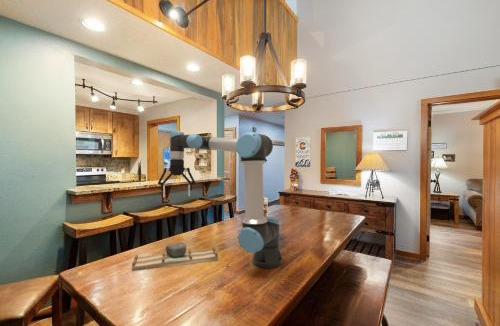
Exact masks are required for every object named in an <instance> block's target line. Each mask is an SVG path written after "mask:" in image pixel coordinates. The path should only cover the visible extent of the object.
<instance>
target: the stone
mask: <svg viewBox="0 0 500 326" xmlns="http://www.w3.org/2000/svg"><path fill="white" fill-rule="evenodd" d="M186 252H187V244H186V243H184V242H176V243H175V242H174V243H169V244H167V245H166V246H165V254H168V255H170V256H172V257H181V256H184V255H185V253H186Z"/></svg>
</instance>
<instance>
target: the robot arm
mask: <svg viewBox="0 0 500 326" xmlns="http://www.w3.org/2000/svg"><path fill="white" fill-rule="evenodd" d="M169 142H170V143H169V144H170V145H169V147H170V149H169V150H170V152H169V159H170V160H169V161H170V162H169V167H164V168H163V173H162V174H161V176H160V178H159V180H158V181H157V185H160V191H161V192H162V195H163V196H162V197H163V198H165V197H166V190H165V189H166V185H165V184H166V182H167V181H168V180H169V179H170V178H171V177H172V176H178V177H179V176H182V177H183V178H184V179H185V181H187V183H188V186H187V189H188V191H187V192H188V194H187V196H188V197H191V191H192V190H193V185H194V184H196V181H195V179H194V177H193V175H192V173H191V170H190V167H185V160H184V159H185V149H196V150H205V151H207V150H208V151H218V152H219V151H221V152H233V153H237V154H238V155H239V156H240V163H241V164H242V165H243V166H244V167H243V170H244V171H243V172H244V174H243V175H244V210H245V211H244V213H245V215H244V218H243V220H242V221H241V223H242V224H241V225H242V227H241V228H240V229H241V230H239V232H238V233H237V234H238V236H237V240H238V244H239V245H240V247H241V248H242V250H243V251H245V252H247V253H250V254H253V256H252V263H253V265H255V266H256V267H259V268H263V269H274V268H279V267H280V266H283V265H282V264H283V256H282V253H281V249H280V226H281V225H280V220H279V218H277V217H276V216H275V217H274V216H267V215H266V216H265V215H264V214H265V210H264V209H265V207H264V205H265V204H264V172H263V171H264V164H265V163H266V162H267V161H266V160H267V157H268V156H270V155H271V154H272V152H273V149H274V144H273V141H272V139H271V137H269V136H268V135H266V134H263V133H262V134H261V133H257V132H255V131H246V132H244V133H242V134H241V135H240V136H238V138H237V137H236V138H235V137H217V136H216V137H214V136H202V135H200V134H199V133H198V134H197V133H196V134H195V133H191V134H185V132H184V131H171V132H170V136H169ZM168 171H169V172H170V173H169V174H168V176H166V177H165V175H166V173H167V172H168ZM185 171H186V172H187V174H188V175H189V177H187V176H186V174H185V173H184V172H185ZM164 177H165V179H164ZM189 178H190V179H189ZM163 179H164V180H163ZM162 180H163V181H162Z"/></svg>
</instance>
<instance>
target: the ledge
mask: <svg viewBox="0 0 500 326" xmlns="http://www.w3.org/2000/svg"><path fill="white" fill-rule="evenodd" d="M218 255H219V253H218V252H217V249H216V248H215V246H212V248H211V249H204V250H194V251H193V250H191V248H189V249H188V250H187V251H186V253H185V255H184V256H181V257H172V256H170V255H168V254H167V253H166V251H162V254H158V255H157V254H156V255H148V256H139V255H138V254H135V255H134V258H133V260H132V263H131V265H132V266H131V267H132V269H131V272H135V271H144V270H152V269H153V270H154V269H161V268H167V267H176V266H184V265H191V264H192V265H193V264H201V263H207V262H208V263H210V262H216V261H218V257H219V256H218Z"/></svg>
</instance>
